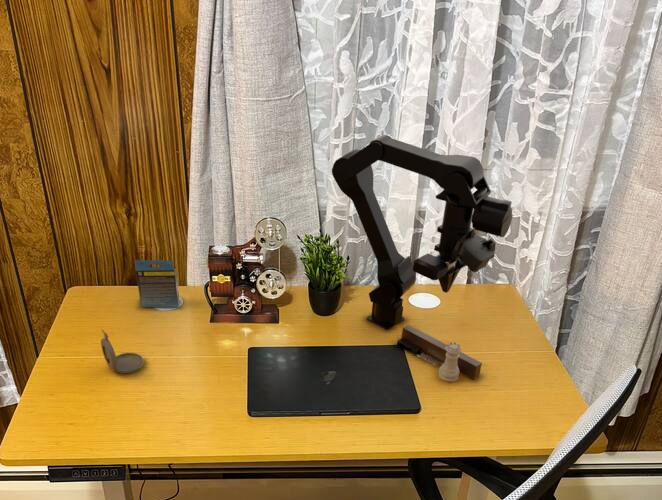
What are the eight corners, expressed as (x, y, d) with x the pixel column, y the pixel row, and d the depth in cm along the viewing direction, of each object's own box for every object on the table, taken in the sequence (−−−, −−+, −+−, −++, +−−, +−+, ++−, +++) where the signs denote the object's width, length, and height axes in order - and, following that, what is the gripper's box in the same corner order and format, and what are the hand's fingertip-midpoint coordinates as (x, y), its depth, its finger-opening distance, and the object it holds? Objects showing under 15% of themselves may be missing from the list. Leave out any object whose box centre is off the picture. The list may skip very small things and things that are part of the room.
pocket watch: (150, 361, 161) (144, 321, 154) (126, 382, 155) (119, 342, 148) (118, 351, 163) (111, 311, 156) (94, 372, 157) (85, 331, 151)
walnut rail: (400, 340, 169) (402, 327, 167) (406, 337, 170) (408, 324, 168) (473, 380, 159) (476, 366, 157) (479, 376, 160) (482, 362, 158)
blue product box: (180, 299, 180) (175, 252, 172) (178, 308, 177) (173, 260, 169) (142, 299, 179) (135, 252, 171) (140, 308, 176) (133, 260, 168)
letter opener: (396, 345, 168) (397, 340, 167) (401, 342, 169) (402, 337, 168) (435, 366, 162) (436, 362, 161) (440, 363, 163) (441, 358, 162)
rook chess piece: (454, 385, 157) (460, 353, 152) (434, 378, 159) (439, 347, 154) (462, 374, 160) (468, 343, 155) (442, 368, 162) (448, 336, 156)
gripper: (461, 252, 143) (449, 322, 153) (516, 222, 153) (501, 290, 163) (415, 232, 148) (406, 301, 159) (471, 205, 159) (459, 271, 169)
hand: (445, 291), depth 162 cm, fingers closed
